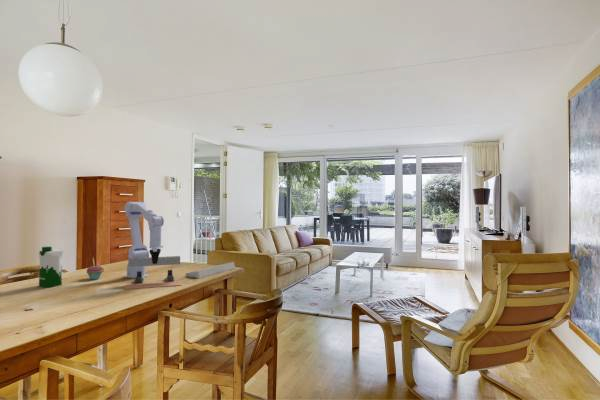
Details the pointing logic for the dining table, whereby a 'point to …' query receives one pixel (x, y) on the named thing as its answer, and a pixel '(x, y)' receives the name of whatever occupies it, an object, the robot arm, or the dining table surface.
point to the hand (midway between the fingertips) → (155, 262)
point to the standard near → (138, 278)
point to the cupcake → (95, 271)
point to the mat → (153, 285)
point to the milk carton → (50, 267)
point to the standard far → (169, 276)
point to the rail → (148, 261)
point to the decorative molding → (211, 270)
